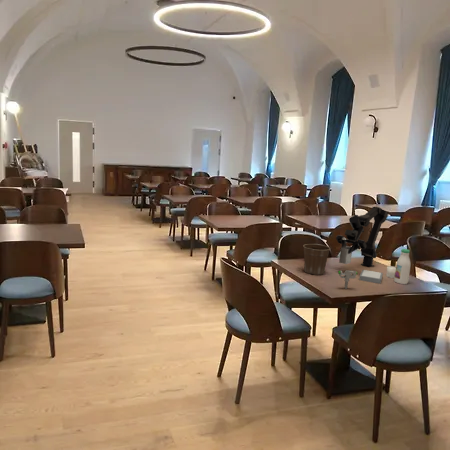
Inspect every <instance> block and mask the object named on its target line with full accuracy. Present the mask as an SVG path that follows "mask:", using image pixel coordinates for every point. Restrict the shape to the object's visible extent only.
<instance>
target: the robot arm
mask: <svg viewBox="0 0 450 450" xmlns="http://www.w3.org/2000/svg"><path fill="white" fill-rule="evenodd" d="M388 217H389V213H388V211H387V210H385V209H383V208H381V207H379V206H372V207H371V209H370V210H368V212H366V213H365V214H363V215H362V214H360V215H358V214H354V215H352V216H351V217H349V219H348V222H349V224H350V225H351V228H352V230H351V229H346V230H345V232H344V235H345V236H346V237H345V236H344V235H341V234H337V235H336V237H335V239H336V241H337V243H338V244H340V245H341V247H340V249H341V248H342V247H343V246H348V245H347V243H348V244H352V245H351V246H350V247H351V248H350V250H349V252H348V254H350V253H351V252H352V253H353V252H355V251H356V250H360V254H361V256H362V257H363V260H362V263H361V264H360V265H362V266H365V267H367V268H371V267H375V265H374V264H373V263H374V259H376V258H377V257H378V254H377V251H376V249H377V248H376V245H375V244H376V240H377V238H378V236H379V233H380V229H381V226H382V224H383V223H385V222H386V220H387V218H388ZM372 219H373V221H374V222H373V224H372V226H371V227H372V228H371V229H370V230H371V231H370V233H369V236H368V239H367V240H366V241H365V240H363V239H361V235H362V233H364V232H365V229H364V227H366V228H367V227H368V226H369V225H370V224H371V220H372Z"/></svg>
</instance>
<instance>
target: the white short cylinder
mask: <svg viewBox="0 0 450 450" xmlns="http://www.w3.org/2000/svg"><path fill="white" fill-rule="evenodd" d="M395 271H396V266H394V265H393V266H392V265H387V267H386V274H385V277H387V278H390V279H394V278H395Z"/></svg>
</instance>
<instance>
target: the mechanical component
mask: <svg viewBox="0 0 450 450" xmlns="http://www.w3.org/2000/svg"><path fill="white" fill-rule="evenodd" d="M337 274H338V275H339V276H338V277H340V278H341V279H344V289H345V290H348V288H349V287H348V286H349V282H350V280H351V279H353V280H354V279H356V277H357V275H358V271H356V270H345V271H344V272H343V271H342V270H338V273H337Z"/></svg>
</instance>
